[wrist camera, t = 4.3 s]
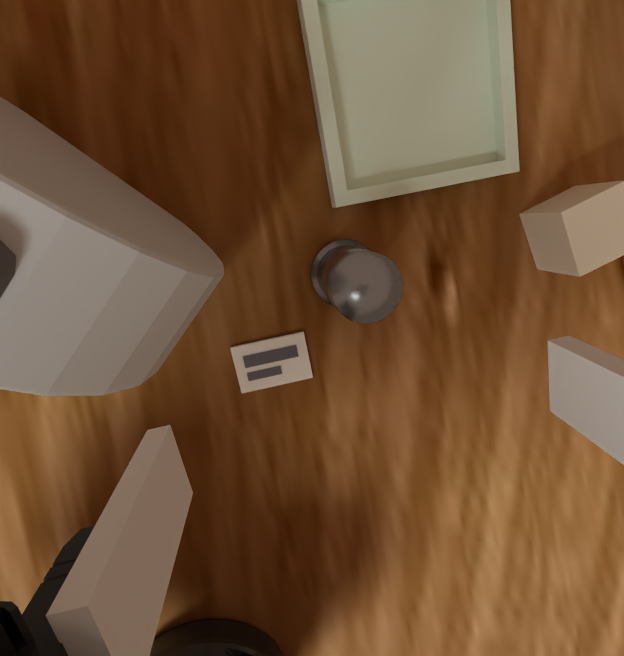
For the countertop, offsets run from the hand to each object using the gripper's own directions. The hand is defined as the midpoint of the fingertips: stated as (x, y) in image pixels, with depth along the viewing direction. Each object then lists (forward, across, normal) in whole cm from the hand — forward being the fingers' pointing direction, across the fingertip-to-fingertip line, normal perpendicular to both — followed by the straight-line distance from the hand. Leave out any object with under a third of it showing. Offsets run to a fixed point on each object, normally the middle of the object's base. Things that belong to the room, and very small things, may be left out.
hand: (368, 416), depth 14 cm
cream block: (+21, +21, +1) cm, 29 cm away
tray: (+21, +10, +13) cm, 27 cm away
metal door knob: (+20, +3, +1) cm, 20 cm away
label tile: (+20, -4, -5) cm, 21 cm away
